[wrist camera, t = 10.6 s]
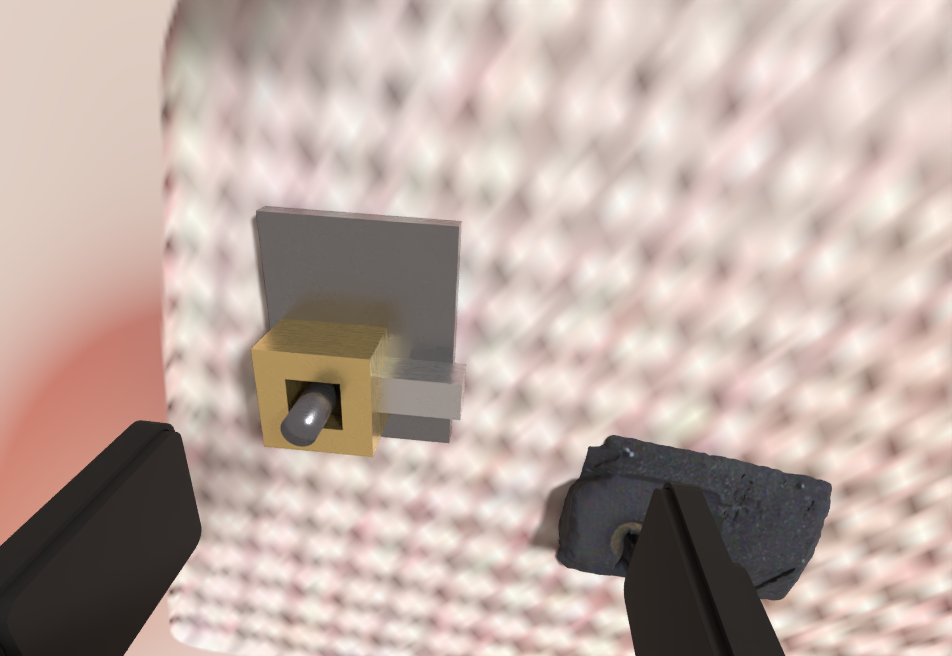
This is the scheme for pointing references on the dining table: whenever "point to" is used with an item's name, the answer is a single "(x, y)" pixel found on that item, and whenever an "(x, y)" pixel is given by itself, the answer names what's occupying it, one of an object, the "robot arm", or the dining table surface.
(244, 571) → the dining table surface
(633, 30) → the dining table surface
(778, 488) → the dark slate chunk
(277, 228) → the square hole fixture
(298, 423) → the grey metal peg
